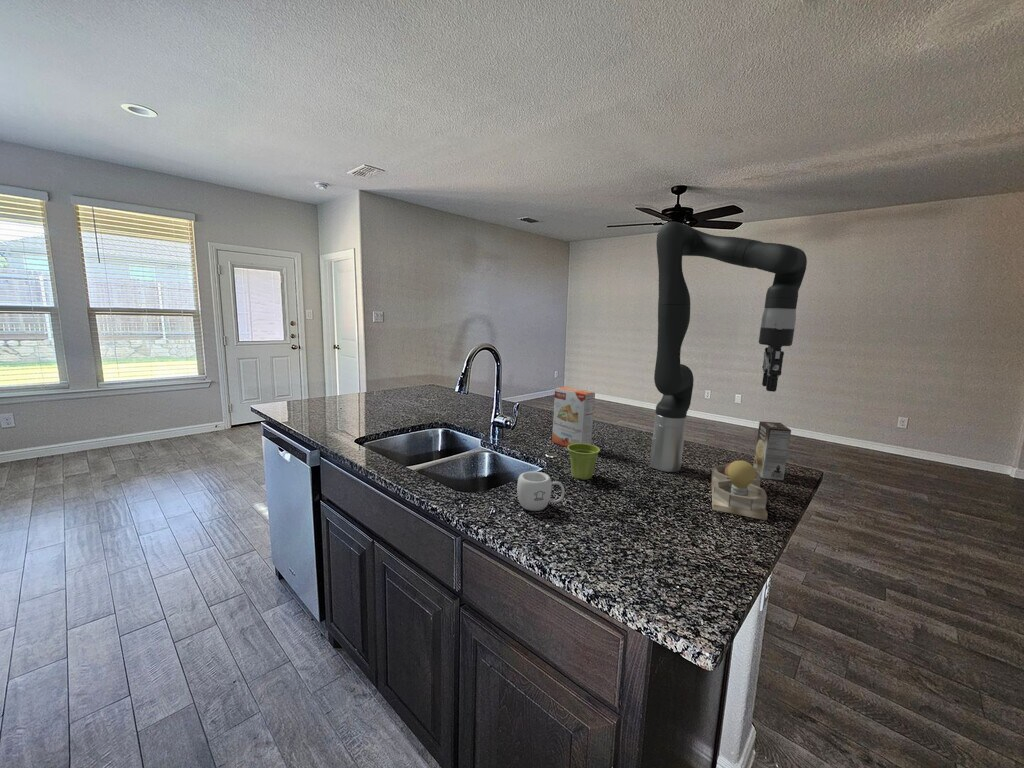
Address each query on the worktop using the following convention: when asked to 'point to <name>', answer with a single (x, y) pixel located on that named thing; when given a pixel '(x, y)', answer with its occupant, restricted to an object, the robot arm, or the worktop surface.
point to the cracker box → (573, 416)
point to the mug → (536, 490)
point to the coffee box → (771, 450)
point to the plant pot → (582, 460)
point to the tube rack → (737, 496)
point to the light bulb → (741, 477)
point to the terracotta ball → (727, 469)
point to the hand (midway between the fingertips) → (768, 388)
